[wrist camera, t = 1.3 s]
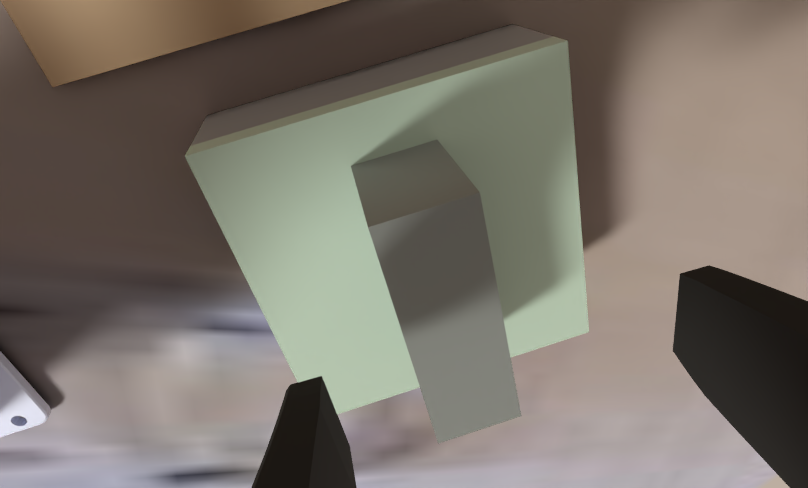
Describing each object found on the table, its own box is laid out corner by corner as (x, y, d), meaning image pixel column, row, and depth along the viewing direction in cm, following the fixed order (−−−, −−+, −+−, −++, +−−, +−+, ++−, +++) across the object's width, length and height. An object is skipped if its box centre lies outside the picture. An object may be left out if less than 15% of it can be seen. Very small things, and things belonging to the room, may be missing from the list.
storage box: (313, 348, 21) (316, 403, 18) (206, 115, 16) (190, 146, 13) (543, 274, 21) (578, 318, 19) (512, 24, 16) (553, 36, 14)
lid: (315, 387, 19) (322, 518, 15) (195, 137, 14) (149, 220, 10) (568, 305, 19) (650, 409, 15) (541, 32, 14) (653, 65, 10)
